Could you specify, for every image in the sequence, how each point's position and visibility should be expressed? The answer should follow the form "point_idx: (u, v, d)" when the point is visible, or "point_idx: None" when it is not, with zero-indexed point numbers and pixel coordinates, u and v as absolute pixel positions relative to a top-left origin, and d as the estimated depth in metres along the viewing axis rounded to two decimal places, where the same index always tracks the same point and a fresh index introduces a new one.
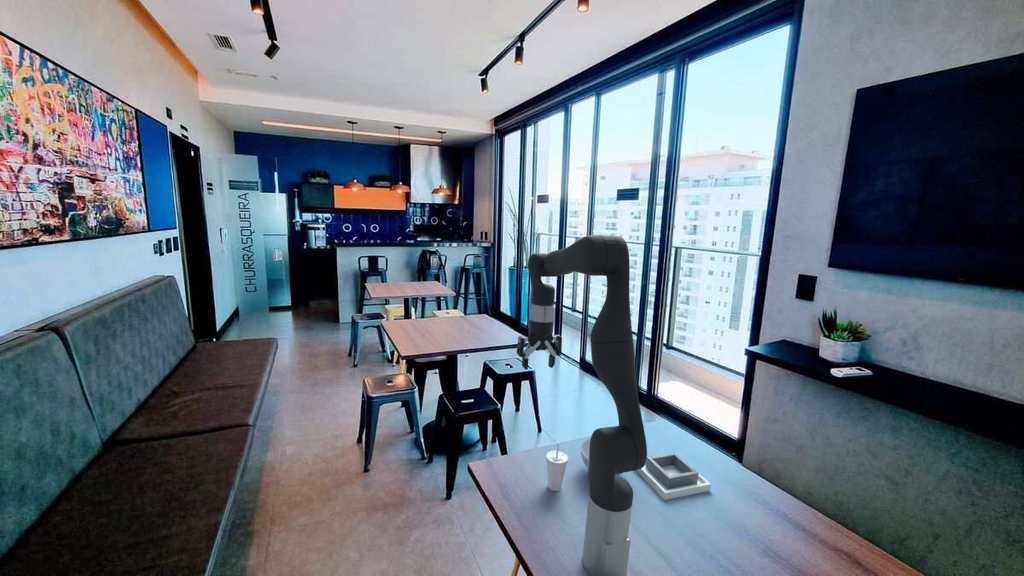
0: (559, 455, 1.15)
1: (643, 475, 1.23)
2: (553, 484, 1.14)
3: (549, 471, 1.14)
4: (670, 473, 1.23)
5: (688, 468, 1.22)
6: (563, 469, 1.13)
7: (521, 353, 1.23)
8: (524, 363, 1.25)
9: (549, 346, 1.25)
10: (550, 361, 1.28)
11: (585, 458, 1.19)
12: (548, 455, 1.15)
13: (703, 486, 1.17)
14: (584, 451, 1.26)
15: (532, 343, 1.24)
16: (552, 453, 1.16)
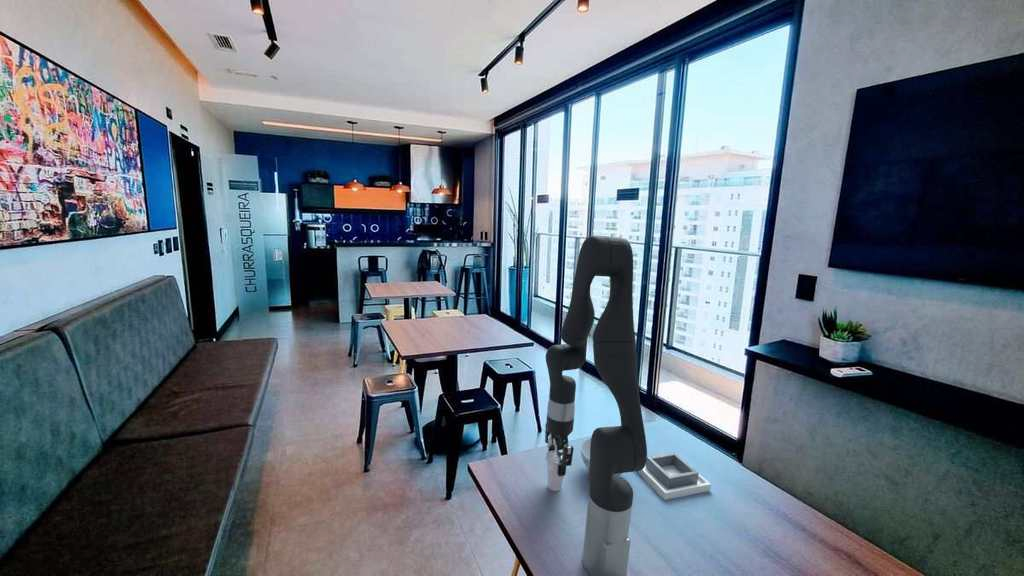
0: None
1: (643, 475, 1.23)
2: (553, 484, 1.14)
3: (549, 471, 1.14)
4: (670, 473, 1.23)
5: (688, 468, 1.22)
6: None
7: None
8: None
9: None
10: None
11: (585, 458, 1.19)
12: (548, 455, 1.15)
13: (703, 486, 1.17)
14: (584, 451, 1.26)
15: None
16: (552, 453, 1.16)
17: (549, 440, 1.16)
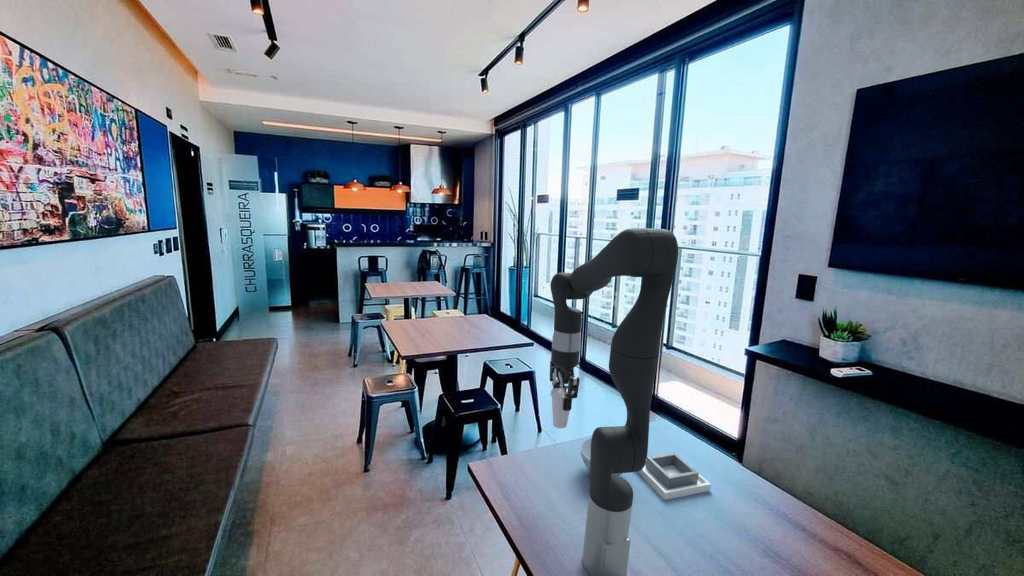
0: None
1: (643, 475, 1.23)
2: (558, 421, 1.11)
3: (554, 407, 1.10)
4: (670, 473, 1.23)
5: (688, 468, 1.22)
6: None
7: None
8: None
9: None
10: None
11: (585, 458, 1.19)
12: (553, 391, 1.12)
13: (703, 486, 1.17)
14: (584, 451, 1.26)
15: None
16: (557, 390, 1.13)
17: (554, 376, 1.12)
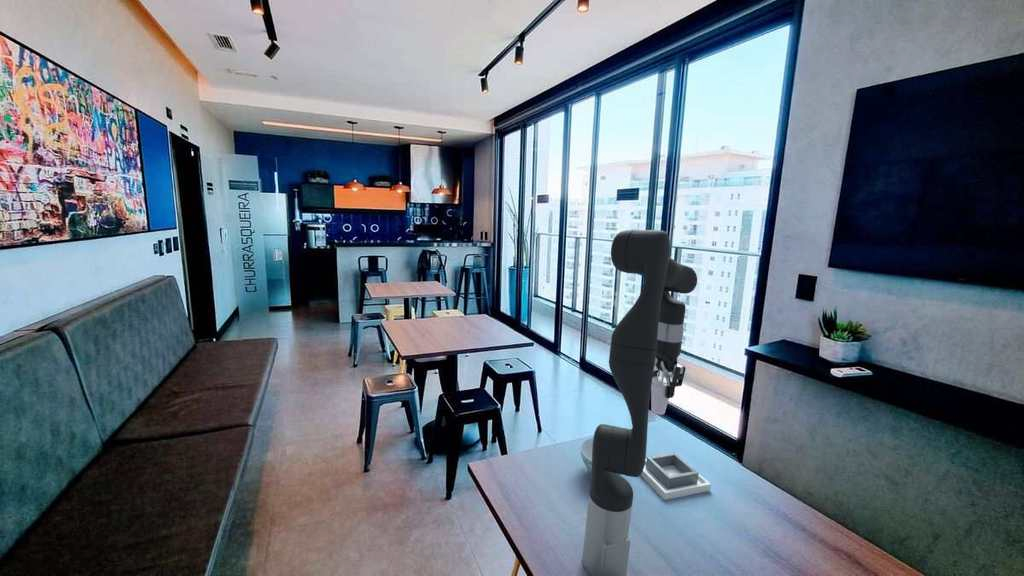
0: (664, 379, 1.17)
1: (643, 475, 1.23)
2: (659, 408, 1.16)
3: (655, 395, 1.16)
4: (670, 473, 1.23)
5: (688, 468, 1.22)
6: None
7: None
8: None
9: None
10: None
11: (585, 458, 1.19)
12: (653, 380, 1.17)
13: (703, 486, 1.17)
14: (584, 451, 1.26)
15: None
16: (656, 378, 1.18)
17: (653, 365, 1.17)
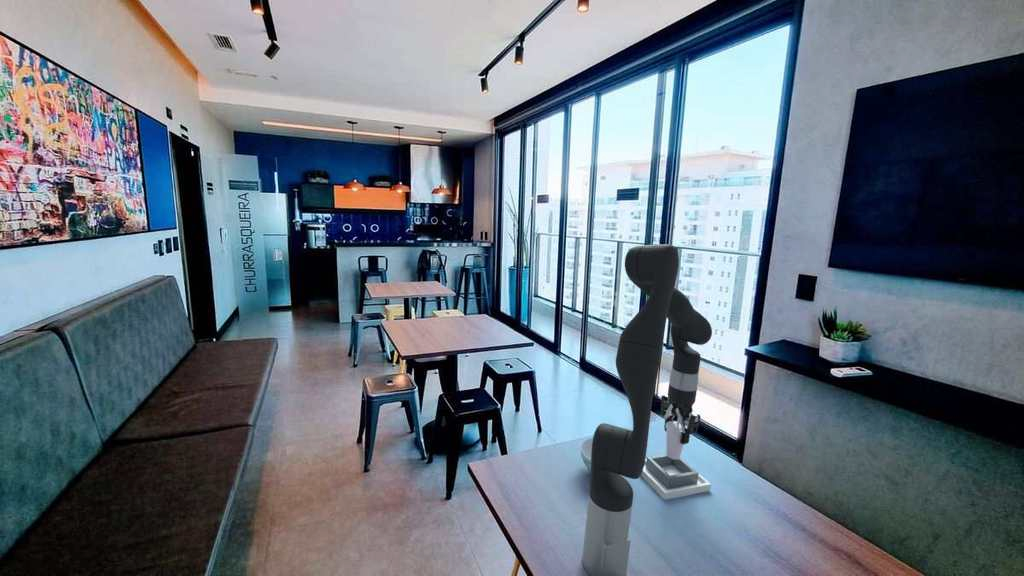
0: (679, 425, 1.20)
1: (643, 475, 1.23)
2: (674, 453, 1.19)
3: (670, 440, 1.19)
4: (670, 473, 1.23)
5: (688, 468, 1.22)
6: None
7: None
8: None
9: None
10: None
11: (585, 458, 1.19)
12: (668, 425, 1.20)
13: (703, 486, 1.17)
14: (584, 451, 1.26)
15: None
16: (671, 423, 1.21)
17: (669, 411, 1.21)
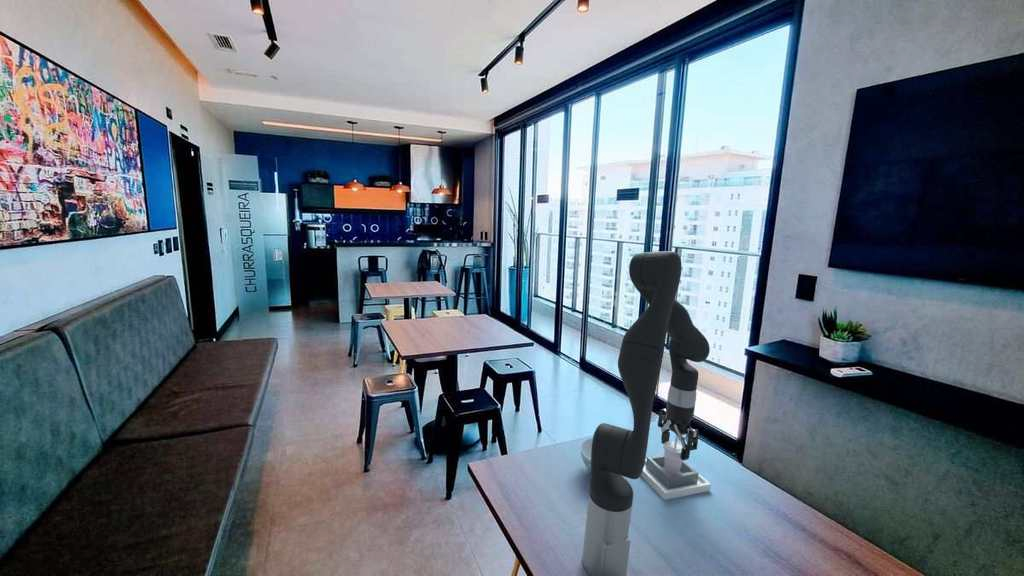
0: (677, 445, 1.21)
1: (643, 475, 1.23)
2: (672, 473, 1.20)
3: (668, 461, 1.20)
4: None
5: (688, 468, 1.22)
6: None
7: None
8: None
9: None
10: (667, 438, 1.25)
11: (585, 458, 1.19)
12: (666, 445, 1.21)
13: (703, 486, 1.17)
14: (584, 451, 1.26)
15: None
16: (669, 444, 1.22)
17: (666, 425, 1.22)
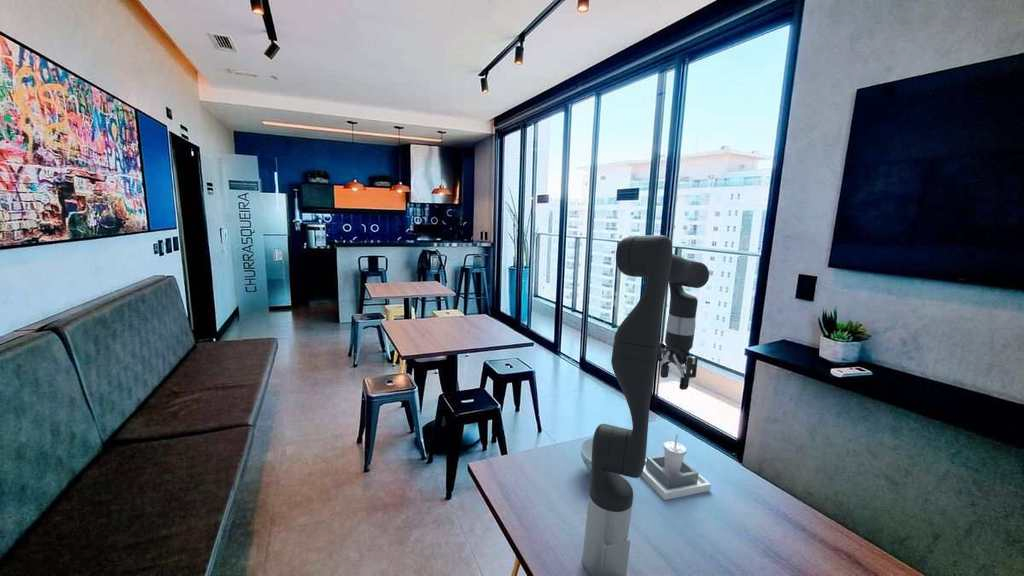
0: (676, 445, 1.21)
1: (643, 475, 1.23)
2: (672, 473, 1.20)
3: (668, 461, 1.20)
4: None
5: (688, 468, 1.22)
6: (682, 459, 1.19)
7: None
8: None
9: None
10: (666, 371, 1.23)
11: (585, 458, 1.19)
12: (666, 445, 1.21)
13: (703, 486, 1.17)
14: (584, 451, 1.26)
15: None
16: (669, 444, 1.22)
17: (665, 357, 1.21)
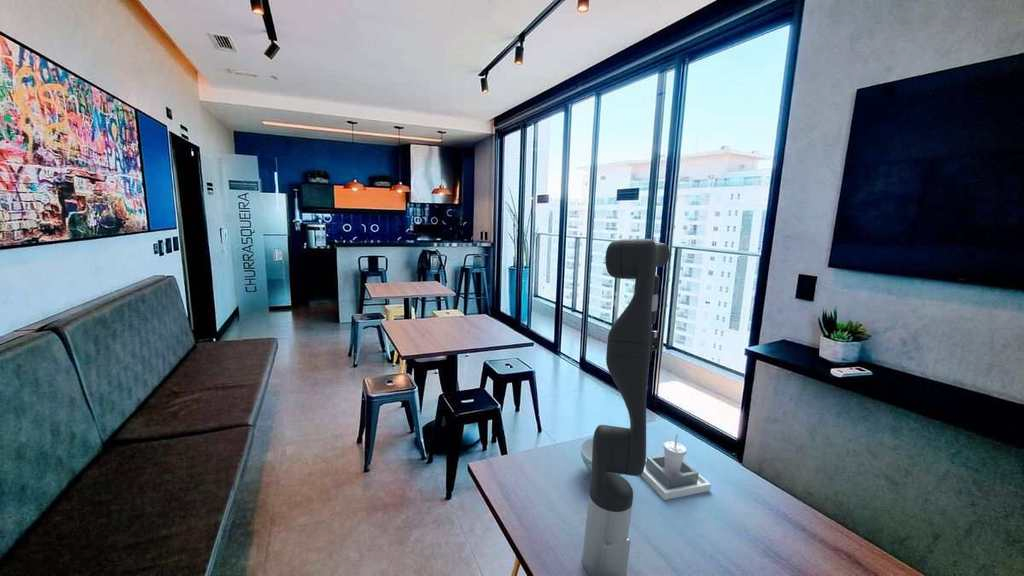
0: (676, 445, 1.21)
1: (643, 475, 1.23)
2: (672, 473, 1.20)
3: (668, 461, 1.20)
4: None
5: (688, 468, 1.22)
6: (682, 458, 1.19)
7: None
8: None
9: None
10: None
11: (585, 458, 1.19)
12: (666, 445, 1.21)
13: (703, 486, 1.17)
14: (584, 451, 1.26)
15: None
16: (669, 444, 1.22)
17: None
